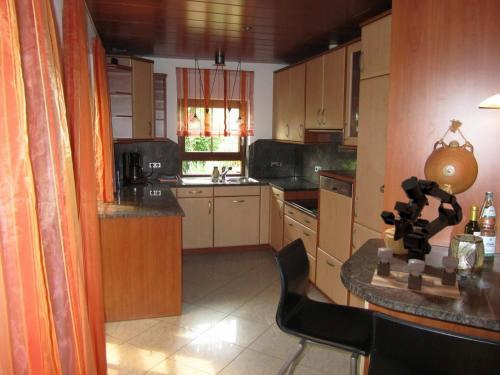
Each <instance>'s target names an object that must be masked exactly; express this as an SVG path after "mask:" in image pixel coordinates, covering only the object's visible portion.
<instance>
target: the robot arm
mask: <svg viewBox="0 0 500 375" xmlns="http://www.w3.org/2000/svg"><path fill="white" fill-rule="evenodd" d="M400 186H401V189H402V191H403V193H404V194H405V196H406V198H408V202H404V201H395V203H394V207H393V210H395V211H396V212H397V213H396V215H395V213H394V212H393V211H390V210H389V211H388V210H382V211H381V213H380V214H379V216H380V218H381V220H382V221H383V222H384V224H385V225H388V226H391V227H393V226H394V228H395V232H394V241H398V240H399V239H401V238H403V245H404V249H407V250H408V253H407V254H406V264H408V262H409V260H410V259H417V260H421V261H424V262H425V263H426V257H427V255H430V253H431V251H432V245H431V243H430V242H429V240H430V239H432V238H433V237H434V236H436V235H437V234H438V233H440V232H441V231H443V230H444V229H446V228H447V227H455V226H457V225H459V224H460V223H461V222H462V221H463V219H464V218H463V217H464V215H463V208H462V206H461V205H460V203H459V202H458V201H457V200H458V199H457V196H456V195H454V194H452V193H449V192H448V191H447V190H444V189H442V188H440V184H439V183H437V181H434V180H428V179H421V178H420V179H419V178H418V177H417V176H415V175H413V176H412V175H411V176H410V178H406V179H405V180H403V181H402V182H401V185H400ZM427 196H428V197H431V198H433V199H435V200H438V201H440V204H439V206H438V208H437V212H438V216H437V217H436V218H435V219H433V220H432V221H430V220H429V219H426V218H421V217H422V212H423V210H424V208H425V207H426V206H427V207H428V206H429V205H430V202H429V199H428V197H427ZM444 204H448V205H450V206H451V208H446V207H444Z"/></svg>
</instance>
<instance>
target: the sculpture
mask: <svg viewBox="0 0 500 375" xmlns="http://www.w3.org/2000/svg"><path fill="white" fill-rule="evenodd" d="M394 232H395V227H392V228H388V229H386V230H385V231H383V241H384V244H385V248H389V249H392V250H393V255H394V254H395V255H408V250H407V249H404V245H403V238H401V239H399V240H398V241H394Z"/></svg>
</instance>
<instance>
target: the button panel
mask: <svg viewBox="0 0 500 375" xmlns="http://www.w3.org/2000/svg"><path fill="white" fill-rule="evenodd" d="M391 268H392V262H391V261H388V265H386V264H381V259H380V260H378V261H377V267H376V268H375V270H374V274H373V277H372V279H371V283H370V285H373V286H378V287H379V286H380V287H384V288H385V287H386V288H391V289H398V290H403V291H410V292H416V293H422V294H427V295H434V296H440V297H444V298H445V297H446V298H452V299H457V300H461V298H462V297H461V294H460V290H459V285H458V280H457V275H458V274H457V271H455V270H453V274H447V273H445V270H446V269H443V268H442V269H441V275H440V276H441V278H439V277H434V276H429V275H428V276H427V275H423V274H421V273H420V275H419V278H416V277H411V276H412V272H408V273H407V272H401V271H395V270H391ZM397 274H398V275H405V276H408V283H404V282H398V281H396V276H397ZM422 278H424V279H430V280H434V287H429V286H423V285H422Z"/></svg>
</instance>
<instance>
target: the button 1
mask: <svg viewBox="0 0 500 375" xmlns="http://www.w3.org/2000/svg"><path fill="white" fill-rule="evenodd" d="M393 255H394V253H393V250H392V249H389V248H387V247H379V248H378V249H377V257H378V258H380V260H381V264H386V265H388V262H389V260H390V259H392V258H393Z"/></svg>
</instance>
